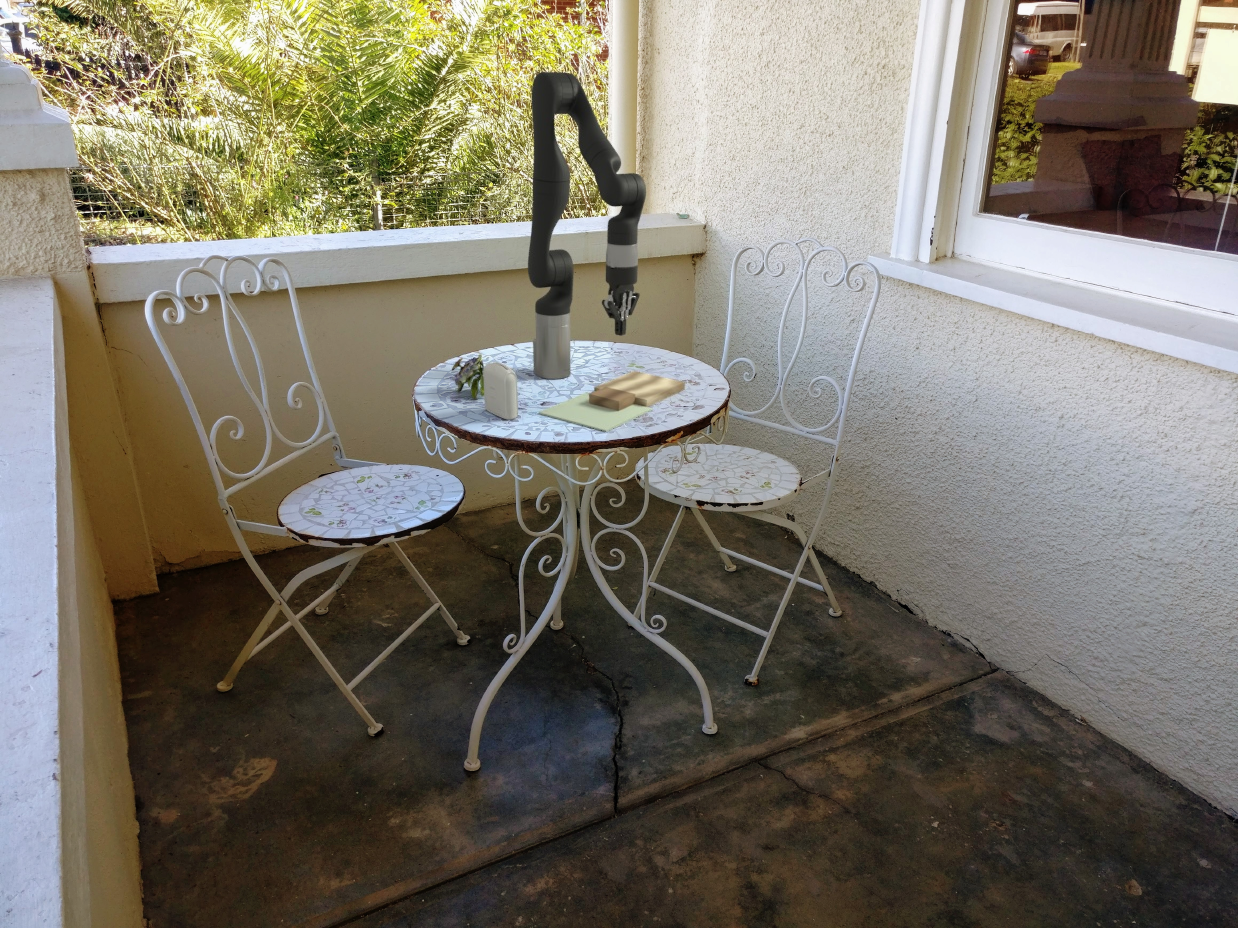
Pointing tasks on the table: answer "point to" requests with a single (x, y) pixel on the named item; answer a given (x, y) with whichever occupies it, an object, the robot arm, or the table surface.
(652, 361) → the table surface
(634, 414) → the sage mat
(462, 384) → the passion flower
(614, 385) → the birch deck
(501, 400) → the photo printer
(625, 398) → the walnut slab
